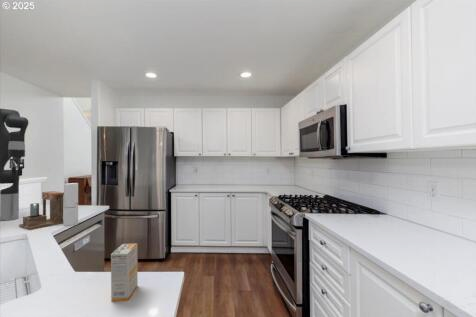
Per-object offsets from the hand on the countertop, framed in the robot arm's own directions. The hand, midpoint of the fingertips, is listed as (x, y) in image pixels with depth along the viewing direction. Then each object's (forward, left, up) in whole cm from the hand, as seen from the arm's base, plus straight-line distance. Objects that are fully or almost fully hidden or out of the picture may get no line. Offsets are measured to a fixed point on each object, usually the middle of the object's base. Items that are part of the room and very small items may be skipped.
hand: (16, 175), depth 148 cm
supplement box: (+127, -16, -30) cm, 132 cm away
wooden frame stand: (+14, +8, -30) cm, 34 cm away
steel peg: (+14, +4, -29) cm, 32 cm away
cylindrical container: (+28, +17, -30) cm, 45 cm away
